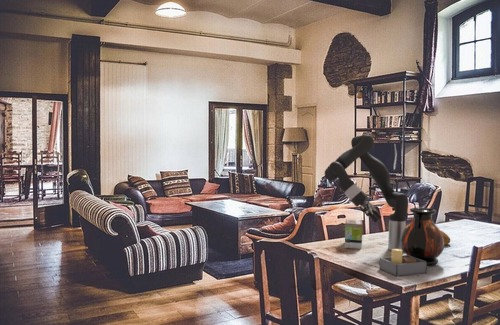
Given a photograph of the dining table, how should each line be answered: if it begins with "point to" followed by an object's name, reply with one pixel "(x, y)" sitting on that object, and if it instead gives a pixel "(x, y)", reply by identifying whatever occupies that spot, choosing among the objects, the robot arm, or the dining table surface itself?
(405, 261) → the cube
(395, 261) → the candle
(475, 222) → the dining table surface
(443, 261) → the dining table surface
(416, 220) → the amphora vase
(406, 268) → the tote
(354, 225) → the tea box
